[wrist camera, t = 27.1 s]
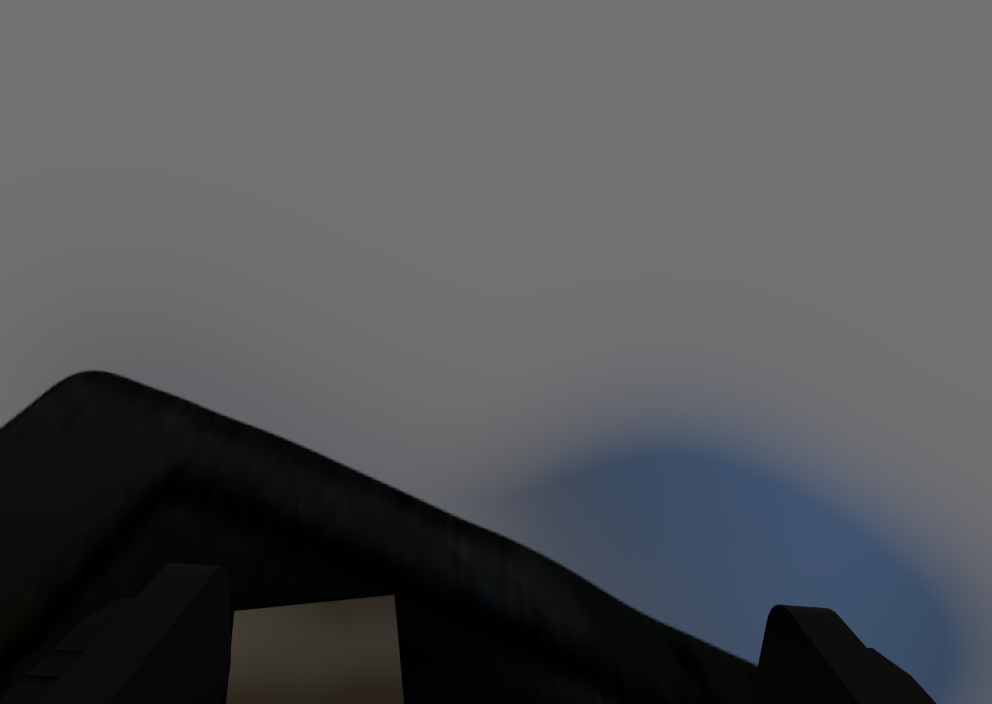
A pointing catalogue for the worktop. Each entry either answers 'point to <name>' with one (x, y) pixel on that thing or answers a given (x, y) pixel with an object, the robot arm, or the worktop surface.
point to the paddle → (317, 654)
